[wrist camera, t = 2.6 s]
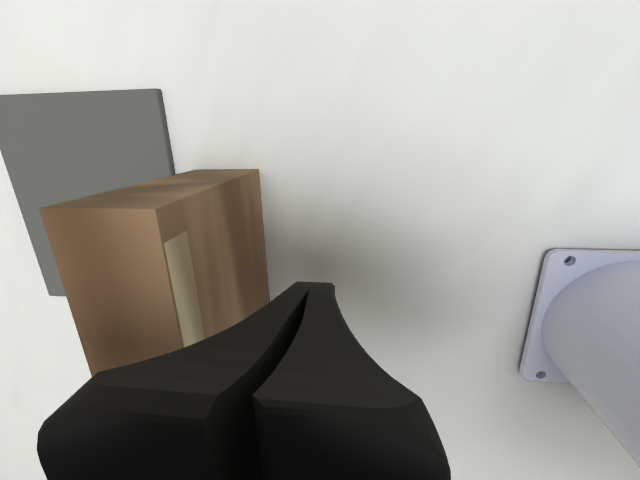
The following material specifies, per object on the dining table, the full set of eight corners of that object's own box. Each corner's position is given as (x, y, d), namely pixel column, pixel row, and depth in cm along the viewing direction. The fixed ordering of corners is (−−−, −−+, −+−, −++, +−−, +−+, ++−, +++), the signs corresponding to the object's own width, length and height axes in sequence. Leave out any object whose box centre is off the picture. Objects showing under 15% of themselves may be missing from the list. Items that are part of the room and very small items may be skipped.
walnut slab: (258, 169, 17) (155, 209, 8) (269, 302, 19) (199, 434, 11) (196, 169, 17) (38, 207, 9) (215, 299, 20) (106, 425, 11)
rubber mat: (160, 89, 16) (155, 88, 16) (196, 299, 20) (192, 302, 20) (-10, 96, 17) (-18, 95, 17) (55, 292, 21) (49, 295, 21)
